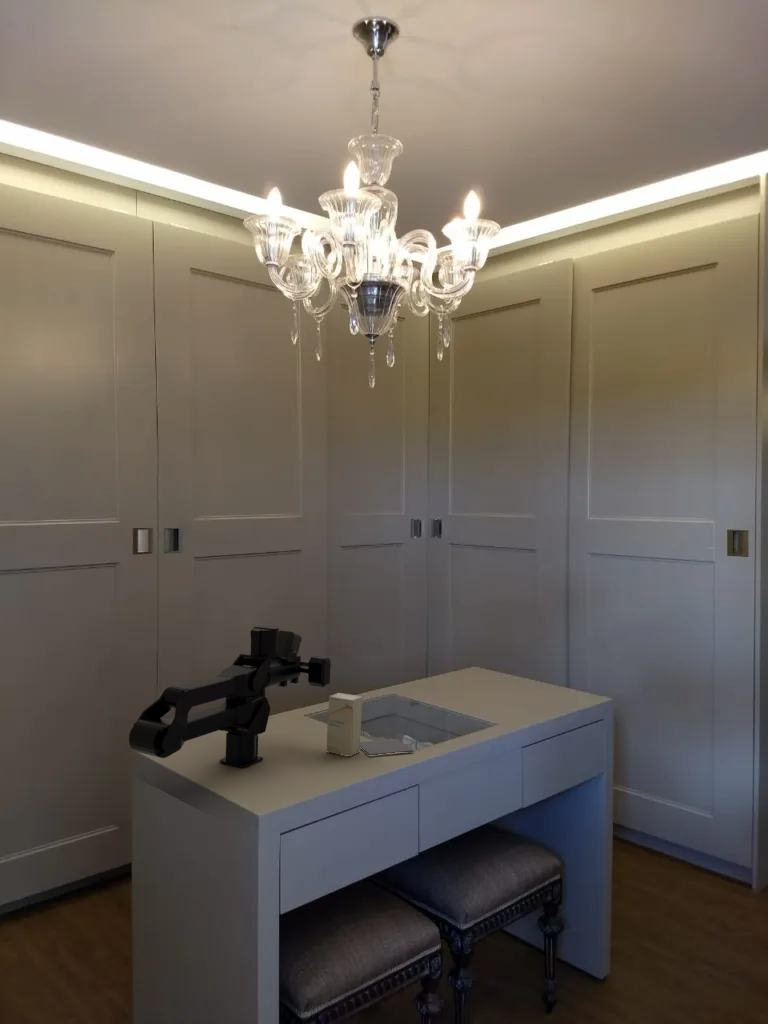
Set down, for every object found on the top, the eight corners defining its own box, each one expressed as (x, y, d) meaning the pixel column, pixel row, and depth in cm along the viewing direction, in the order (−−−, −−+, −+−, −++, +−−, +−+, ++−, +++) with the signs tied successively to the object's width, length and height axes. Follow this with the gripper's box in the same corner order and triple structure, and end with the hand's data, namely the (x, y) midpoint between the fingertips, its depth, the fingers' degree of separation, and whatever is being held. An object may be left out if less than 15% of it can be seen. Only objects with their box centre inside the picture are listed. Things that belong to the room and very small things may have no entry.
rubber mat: (369, 757, 163) (369, 754, 163) (355, 744, 171) (355, 742, 171) (412, 753, 167) (413, 750, 167) (397, 741, 175) (397, 738, 175)
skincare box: (325, 752, 165) (327, 696, 165) (336, 747, 169) (337, 692, 169) (351, 757, 162) (352, 699, 162) (361, 752, 166) (362, 695, 166)
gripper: (309, 639, 162) (348, 631, 176) (240, 631, 171) (282, 624, 185) (308, 693, 162) (347, 680, 176) (238, 681, 171) (281, 670, 185)
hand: (314, 662), depth 180 cm, fingers open, 9 cm apart
